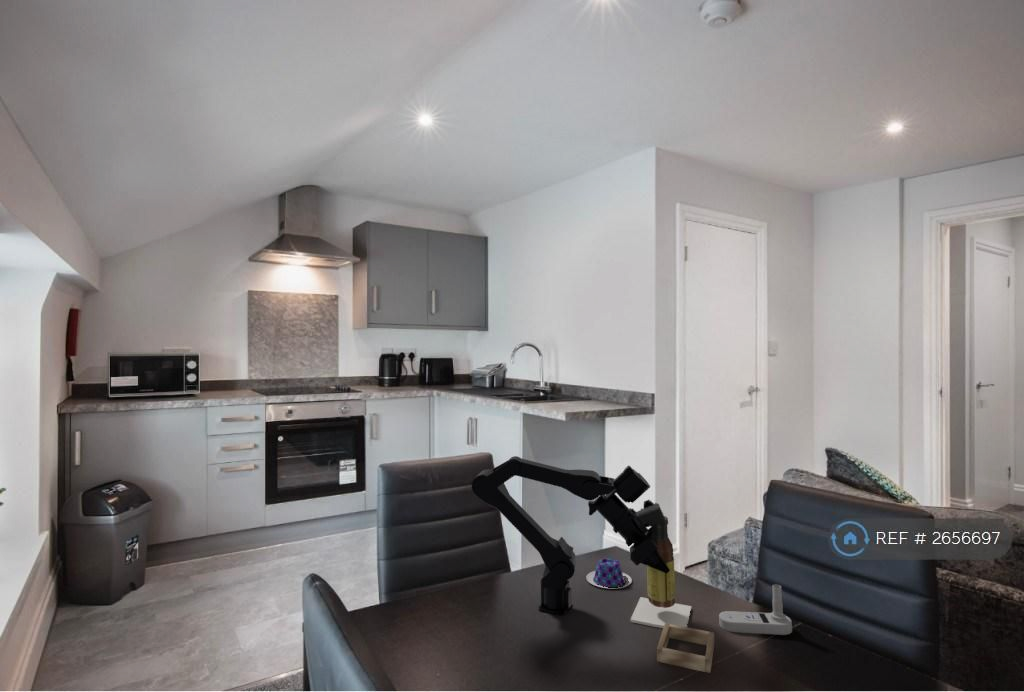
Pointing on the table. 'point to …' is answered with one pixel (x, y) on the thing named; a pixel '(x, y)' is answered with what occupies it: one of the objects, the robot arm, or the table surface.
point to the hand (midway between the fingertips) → (666, 566)
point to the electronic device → (759, 619)
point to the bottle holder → (683, 657)
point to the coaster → (660, 614)
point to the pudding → (608, 574)
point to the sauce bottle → (658, 581)
